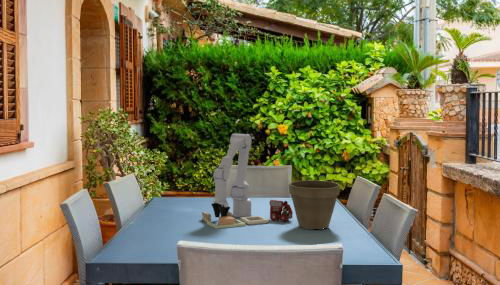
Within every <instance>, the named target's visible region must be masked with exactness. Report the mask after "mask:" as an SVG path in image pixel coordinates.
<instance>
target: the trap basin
mask: <svg viewBox="0 0 500 285" xmlns="http://www.w3.org/2000/svg"><path fill="white" fill-rule="evenodd" d="M239 221H241V222H244V223H246V225H249V226H252V225H262V224H264V223H265V224H269V219H267V218H266V217H263V216H260V215H253V216H245V217H239Z"/></svg>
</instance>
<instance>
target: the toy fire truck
mask: <svg viewBox="0 0 500 285" xmlns="http://www.w3.org/2000/svg"><path fill="white" fill-rule="evenodd" d="M288 203H289V202H288V201H287V200H285V201H283V200H276V199H270V200H269V206H270V207H269V208H270V209H269V219H270V220H271V221H272V220H273V221H272V222H275V221H277V220H279V221H280V222H282V221H284V222H283V223H285V222H287V221H288V220H291V219H293V213H294V212H293V209H292V207H291V205H290V204H288ZM287 219H288V220H287Z"/></svg>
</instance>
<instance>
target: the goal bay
mask: <svg viewBox="0 0 500 285" xmlns="http://www.w3.org/2000/svg"><path fill="white" fill-rule="evenodd" d="M206 225H208V226H210V227H211V228H214V229H216V230H217V229H225V228H227V229H228V228H235V227H236V228H237V227H245V226H246V225H247V224H246V223H244V222H241V221H240V219H237V218H235V224H229V225H219V224H218V225H217V224H215V223H213V222H212V221H211V222H209V221H208V222H206Z"/></svg>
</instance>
